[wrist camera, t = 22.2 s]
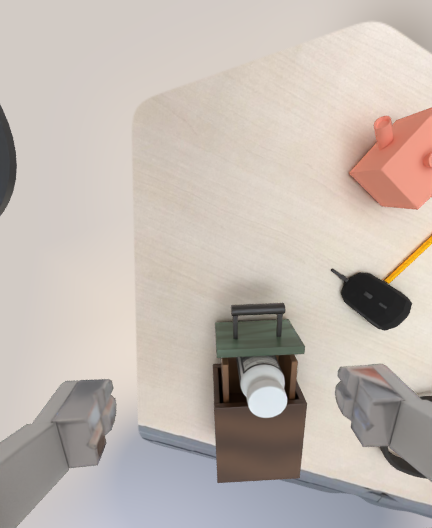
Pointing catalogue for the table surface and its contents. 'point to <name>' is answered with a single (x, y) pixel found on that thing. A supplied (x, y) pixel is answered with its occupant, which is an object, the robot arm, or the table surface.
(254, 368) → the pill bottle
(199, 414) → the table surface
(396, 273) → the pencil
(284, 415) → the cabinet
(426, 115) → the pink cube teapot
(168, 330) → the table surface
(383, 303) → the gaming mouse
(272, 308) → the drawer
